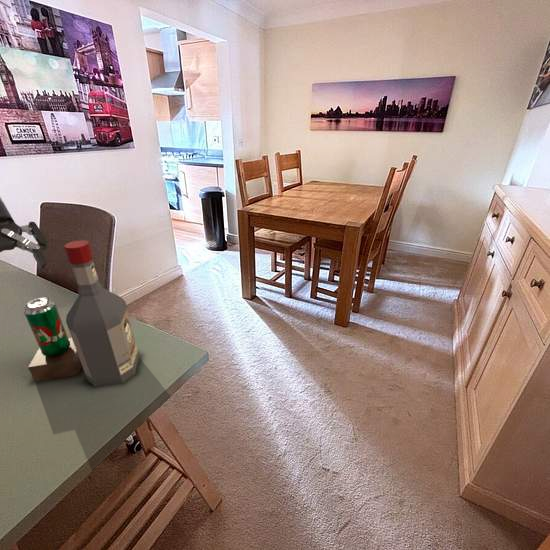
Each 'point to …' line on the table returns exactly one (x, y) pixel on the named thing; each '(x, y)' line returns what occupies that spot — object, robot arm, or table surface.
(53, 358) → the stand
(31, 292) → the table surface
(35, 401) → the table surface
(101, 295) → the liquor
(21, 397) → the table surface
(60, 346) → the soda can
